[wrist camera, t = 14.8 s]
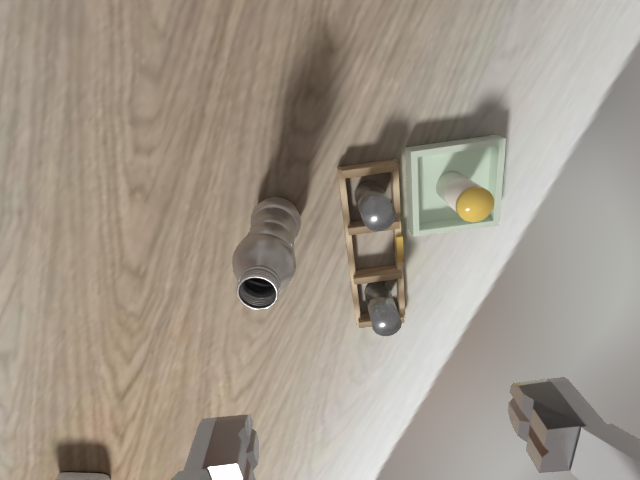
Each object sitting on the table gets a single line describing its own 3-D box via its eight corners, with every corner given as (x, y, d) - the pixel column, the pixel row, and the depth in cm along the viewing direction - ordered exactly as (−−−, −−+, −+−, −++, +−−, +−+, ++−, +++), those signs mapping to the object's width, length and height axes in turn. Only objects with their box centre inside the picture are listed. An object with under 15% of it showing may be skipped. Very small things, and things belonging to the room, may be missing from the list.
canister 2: (363, 282, 55) (371, 314, 47) (389, 279, 55) (400, 310, 47) (365, 304, 56) (373, 337, 49) (390, 301, 56) (402, 334, 49)
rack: (337, 167, 47) (338, 171, 45) (395, 158, 47) (400, 162, 44) (355, 318, 57) (357, 328, 55) (403, 312, 57) (407, 322, 55)
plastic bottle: (290, 242, 52) (278, 332, 33) (246, 224, 50) (209, 307, 32) (309, 205, 49) (307, 279, 31) (264, 184, 48) (234, 249, 30)
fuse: (435, 173, 47) (458, 190, 40) (466, 168, 47) (495, 186, 39) (435, 202, 49) (457, 224, 41) (465, 198, 48) (492, 219, 41)
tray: (405, 147, 46) (410, 151, 43) (494, 134, 46) (506, 138, 43) (408, 228, 51) (413, 236, 48) (489, 217, 51) (499, 225, 48)
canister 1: (353, 183, 48) (360, 202, 41) (382, 179, 48) (394, 197, 41) (356, 210, 50) (363, 233, 42) (384, 206, 50) (396, 228, 42)
